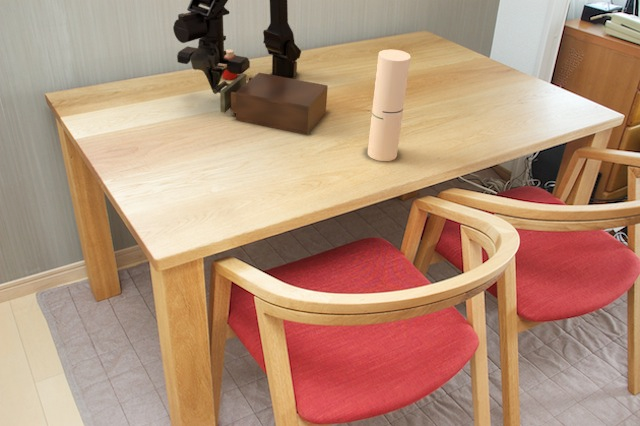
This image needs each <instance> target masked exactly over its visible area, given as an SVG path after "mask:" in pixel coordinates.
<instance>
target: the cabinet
mask: <svg viewBox="0 0 640 426" xmlns="http://www.w3.org/2000/svg"><path fill="white" fill-rule="evenodd" d="M246 82H247V83H246V84H245V85H243V86H242V87H241V88H240V89H239V90H237V91H236V113H235V120H236V121H241V122H245V123H249V124H253V125H258V126H259V125H260V126H264V127H268V128H273V129H278V130H283V131H287V132H291V133H296V134H301V135H306V136H307V135H308V134H309V133H310V132H311V131H312V130H313V129H314V127H315V126H316V125H317V124H318V122H319V121H320V120H321V119H322V118H323V117H324V115H325V114H326V113H327V103H328V85H326V84H321V83H317V82H313V81H312V82H311V81H306V80H300V79H296V78H292V79H291V78H286V77H280V76H275V75H271V74H270V73H264V72H258V73H256V74H255V75H254V76H253V77H252V79H251V80H249V79H248V81H246Z"/></svg>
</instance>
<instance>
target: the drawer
mask: <svg viewBox="0 0 640 426" xmlns="http://www.w3.org/2000/svg"><path fill="white" fill-rule="evenodd" d="M252 78H253V77H252V76H249V77H248V81H249V80H251V79H252ZM248 81H247V73H242V74H239V76H237V78H236V79H233V80H232V81H231V82H230V83H229V82H227V81H225V80H223V81H222V82H221V83H219V85H218V86H217V87H215V88H214V89H213V91H212V93H213V94H214V95H216V94H219V95H220V96H219V97H220V113H222V114H226V113H227V112H228V111H229V110H230V112H232V113H235V114H236V91H237V90H239V89H240V88H241V87H242V86H243V85H245V84H246V83H247V82H248Z"/></svg>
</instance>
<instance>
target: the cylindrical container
mask: <svg viewBox="0 0 640 426" xmlns="http://www.w3.org/2000/svg"><path fill="white" fill-rule="evenodd" d="M410 64H411V55H410V53H408V52H406V51H403V50H401V49H383V50H380V51H379V52H378V56H377V66H376V72H375V73H376V75H375V84H374V92H373V100H372V109H371V119H370V126H369V136H368V145H367V155H368V157H370V158H371V159H373V160H375V161H379V162H389V161H390V162H391V161H394V160H395V159H396V158H397V156H398V150H399V144H400V143H399V142H400V135H401V129H402V128H401V127H402V121H403V114H404V106H405V100H406V93H407V85H408V77H409V72H410V71H409V70H410Z"/></svg>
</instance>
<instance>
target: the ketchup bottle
mask: <svg viewBox="0 0 640 426" xmlns="http://www.w3.org/2000/svg"><path fill="white" fill-rule="evenodd" d="M224 51H226V55H225V56H224V58H229V59H231V58H233V57H234V56H235V55H236V54H235V51H234V49H231V48H230V49H228V48H227V49H224ZM221 78H222V79H224V80H228V81H234V80H235V79H236V78H238V74H234V73H230V72H229V71H228V70H225V71H224V73H223V75H222V77H221Z"/></svg>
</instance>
